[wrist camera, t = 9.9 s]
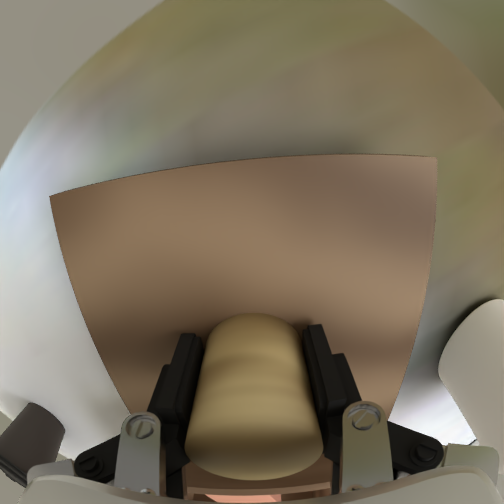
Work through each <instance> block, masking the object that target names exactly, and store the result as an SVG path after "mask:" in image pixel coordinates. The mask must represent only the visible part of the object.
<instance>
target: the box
mask: <svg viewBox="0 0 504 504" xmlns="http://www.w3.org/2000/svg"><path fill="white" fill-rule="evenodd" d="M185 467H186V482H187V495H188V500H193V501H204V502H216V501H214V500H213V499H211V498H210V497H208V496H207V495H229V496H254V495H276V494H281V501H293V500H302V499H310V498H317V497H324V496H329V495H330V480H331V460H329V459H327V458H326V457H324V454H321V456H320V457H319V459H318V460H317V461H316V462H315V463H313V464H312V465H311V466H309V467H308V468H306V469H304V470H302V471H300V472H297V473H295V474H292V475H289V476H285V477H281V478H275V479H268V480H240V479H232V478H227V477H223V476H219V475H216V474H213V473H210V472H208V471H206V470H204V469H202V468H200V467H199V466H197V465H196V464H194V463H193V462H192V461H191V460H190V463H188V464H186V465H185ZM205 494H207V495H205Z"/></svg>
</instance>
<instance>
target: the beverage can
mask: <svg viewBox="0 0 504 504" xmlns="http://www.w3.org/2000/svg"><path fill="white" fill-rule="evenodd" d="M438 373H439V377H440V379H441V380H442V382H443V383H444V385H445V387H446V388H447V390H448V391H449V393H450V394H451V396H452V398H453V399H454V401H455V402H456V404H457V406H458V407H459V409H460V411H461V412H462V414H463V416H464V417H465V419H466V421H467V422H468V424H469V426H470V428H471V429H472V431H473V433H474V435H475V437H476V438H477V440H478V442H479V444H480V446H489V447H493V448H494V449H496V450H497V452H498V454H499V458H500V462H499V472H498V474H501V475H504V300H501V299H495V300H491V301H488V302H486V303H484V304H483V305H481V306H479V307H478V308H477V309H475V310H474V311H473V312H472V313H471V314H470V315H469V316H468V317H467V318H466V319H465V320H464V321H463V322H462V323H461V324H460V325H459V327H458V328H457V329H456V330H455V332H454V333H453V335H452V336H451V338H450V339H449V341H448V342H447V344H446V346H445V348H444V350H443V352H442V355H441V358H440V361H439V366H438Z"/></svg>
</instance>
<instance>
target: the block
mask: <svg viewBox="0 0 504 504" xmlns="http://www.w3.org/2000/svg"><path fill="white" fill-rule="evenodd" d="M205 495H207V494H205ZM207 496H208V497H210V498H211V499H213V500H214V501H216V502H221V503H265V502H281V494H276V495H254V496H229V495H207Z"/></svg>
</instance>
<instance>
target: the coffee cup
mask: <svg viewBox="0 0 504 504" xmlns="http://www.w3.org/2000/svg"><path fill="white" fill-rule="evenodd" d="M64 433H65V429H64V427H63V425H62V424H61V423H60V421H59V420H58V419H57V418H56V417H55V416H53V415H52V414H51V413H50V412H48V411H47V410H46V409H44V408H43V407H41V406H39V405H37V404H35V403H29V404H28V405H27V406H26V407H25V408H24V409H23V411H22V412H21V413H20V414H19V415H18V416H17V417H16V419H15V420H14V421H13V422H12V423H11V424H10V426H9V427H8V428H7V429H6V430H5V431H4V432H3V434H2V435H1V436H0V469H1V470H2V471H3V472H4V473H5V474H6V476H7V477H9V478H10V479H11V480H13V481H14V482H17V483H19V484H20V485H22V486H23V487H25V488H26V487H27V485H28V484H27V473H28V471H29V469H31V468H32V467H33V466H36V465H41V464H47V463H52V462H55V461H56V458H57V454H58V451H59V448H60V445H61V442H62V439H63V436H64Z"/></svg>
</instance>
